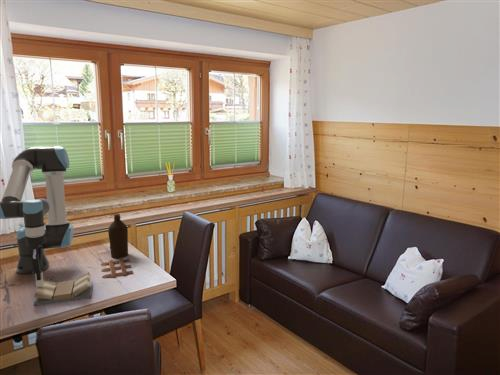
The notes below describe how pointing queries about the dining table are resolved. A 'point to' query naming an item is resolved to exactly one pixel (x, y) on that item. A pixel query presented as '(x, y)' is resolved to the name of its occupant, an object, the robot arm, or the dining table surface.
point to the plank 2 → (81, 283)
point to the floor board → (80, 296)
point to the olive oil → (118, 238)
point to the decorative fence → (116, 268)
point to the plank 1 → (45, 290)
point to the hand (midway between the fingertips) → (40, 285)
